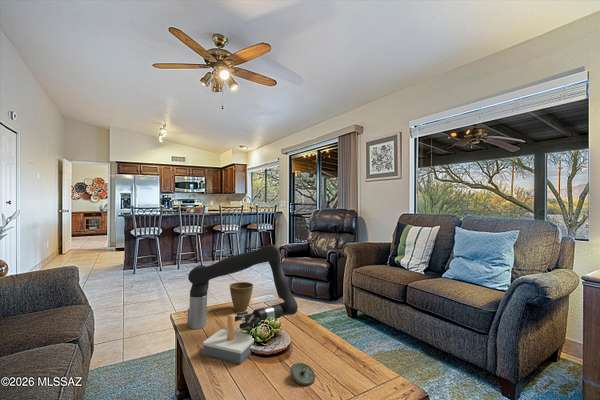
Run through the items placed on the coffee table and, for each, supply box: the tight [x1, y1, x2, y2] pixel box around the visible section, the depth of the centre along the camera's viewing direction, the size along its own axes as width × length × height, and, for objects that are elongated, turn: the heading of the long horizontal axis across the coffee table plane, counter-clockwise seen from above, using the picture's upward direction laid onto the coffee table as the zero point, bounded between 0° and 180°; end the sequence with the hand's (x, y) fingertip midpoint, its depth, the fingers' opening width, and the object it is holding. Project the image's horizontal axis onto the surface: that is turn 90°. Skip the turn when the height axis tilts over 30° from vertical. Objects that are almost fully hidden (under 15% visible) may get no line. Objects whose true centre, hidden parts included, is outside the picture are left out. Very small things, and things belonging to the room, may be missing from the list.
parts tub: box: [203, 342, 254, 365], centre depth 135 cm, size 19×14×5 cm
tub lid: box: [202, 313, 254, 354], centre depth 135 cm, size 20×15×14 cm
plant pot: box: [229, 281, 254, 313], centre depth 187 cm, size 15×15×16 cm
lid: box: [289, 362, 316, 386], centre depth 117 cm, size 11×10×5 cm
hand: (235, 323), depth 136 cm, fingers open, 8 cm apart
